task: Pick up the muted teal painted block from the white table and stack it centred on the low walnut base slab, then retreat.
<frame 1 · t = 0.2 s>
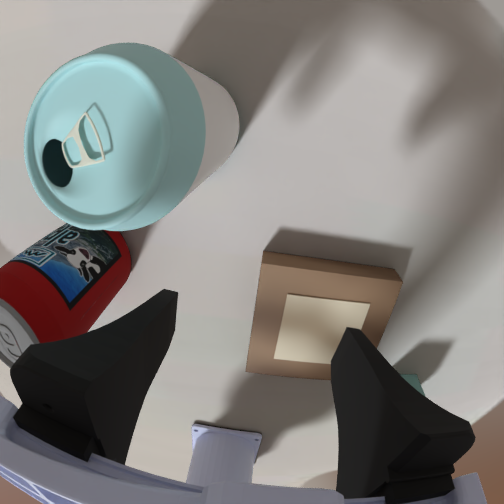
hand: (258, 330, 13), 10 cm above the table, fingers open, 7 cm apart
beverage can: (100, 250, 23), on the table
walnut base: (317, 317, 24), on the table
can: (187, 126, 19), on the table
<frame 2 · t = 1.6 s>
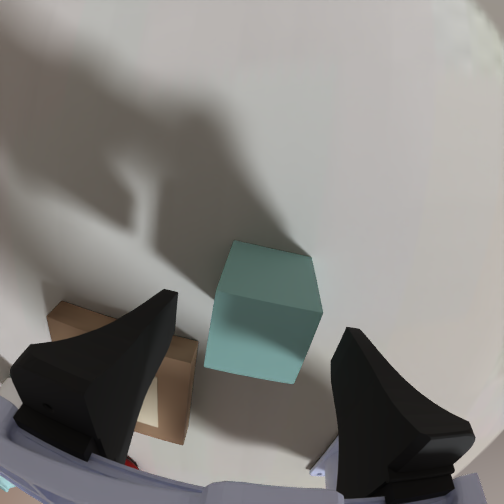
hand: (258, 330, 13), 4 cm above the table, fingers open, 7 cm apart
teal block: (264, 282, 17), on the table
walnut base: (127, 372, 21), on the table
can: (32, 396, 25), on the table
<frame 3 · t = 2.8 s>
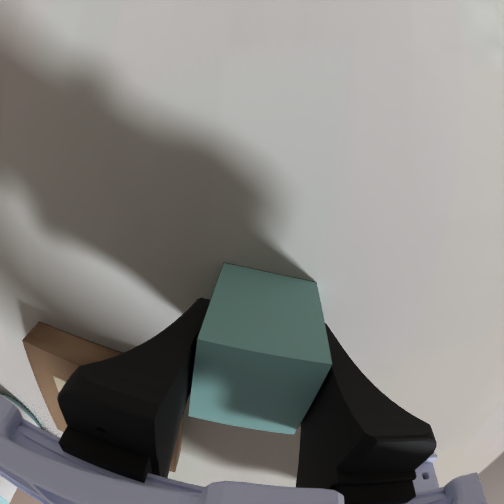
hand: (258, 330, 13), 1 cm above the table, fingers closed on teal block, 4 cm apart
teal block: (260, 311, 14), on the table, touching gripper
walnut base: (112, 398, 18), on the table
can: (21, 412, 23), on the table
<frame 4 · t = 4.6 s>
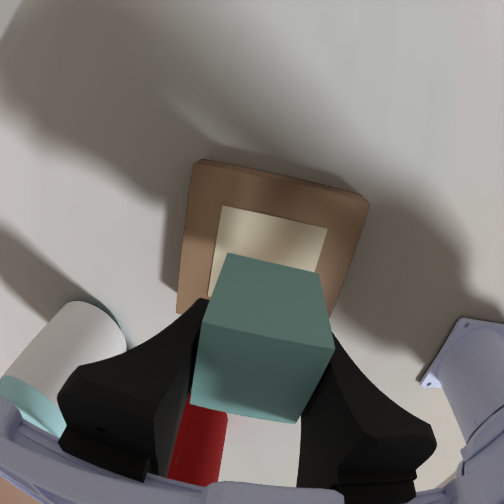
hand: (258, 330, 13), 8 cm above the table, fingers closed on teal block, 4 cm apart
teal block: (262, 301, 14), point 7 cm above the table, touching gripper
beverage can: (195, 406, 28), on the table
walnut base: (265, 250, 20), on the table
can: (95, 329, 25), on the table
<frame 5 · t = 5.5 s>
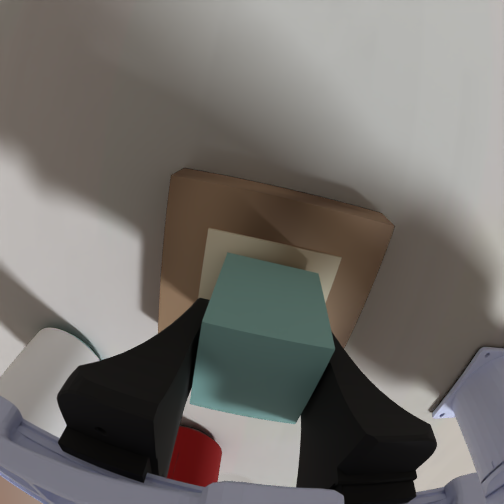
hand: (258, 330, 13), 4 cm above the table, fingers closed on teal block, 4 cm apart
teal block: (262, 301, 14), point 3 cm above the table, touching gripper
beverage can: (186, 437, 24), on the table
walnut base: (263, 279, 17), on the table
can: (74, 356, 21), on the table
when the fingers open (4 cm above the table, at t = 6.2 s): teal block stays where it is, resting on walnut base.
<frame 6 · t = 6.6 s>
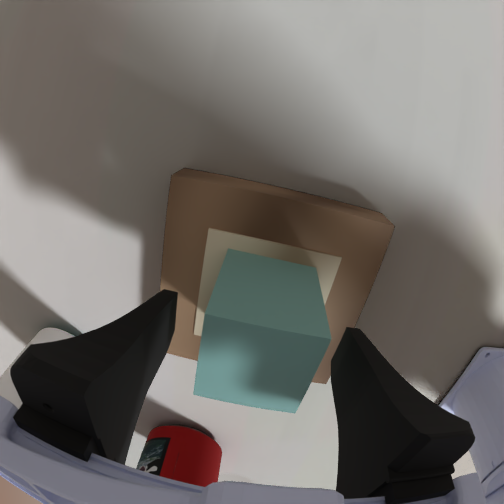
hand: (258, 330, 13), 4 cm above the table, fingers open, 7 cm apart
teal block: (262, 295, 15), point 2 cm above the table, touching walnut base
beverage can: (187, 437, 24), on the table
walnut base: (263, 279, 17), on the table
can: (75, 356, 21), on the table
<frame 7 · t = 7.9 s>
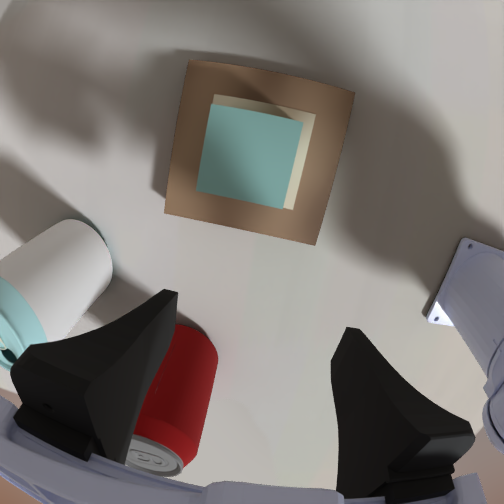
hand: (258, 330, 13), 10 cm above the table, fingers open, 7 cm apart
teal block: (255, 147, 18), point 2 cm above the table, touching walnut base
beverage can: (183, 346, 27), on the table
walnut base: (256, 148, 20), on the table
can: (82, 254, 24), on the table
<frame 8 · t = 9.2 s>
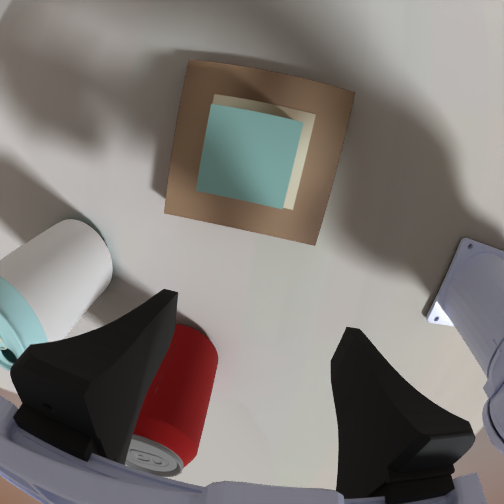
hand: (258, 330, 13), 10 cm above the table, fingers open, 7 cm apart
teal block: (255, 147, 18), point 2 cm above the table, touching walnut base
beverage can: (183, 346, 27), on the table
walnut base: (256, 148, 20), on the table
can: (82, 254, 24), on the table
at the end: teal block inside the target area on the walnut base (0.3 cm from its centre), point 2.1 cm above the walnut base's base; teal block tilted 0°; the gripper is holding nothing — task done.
